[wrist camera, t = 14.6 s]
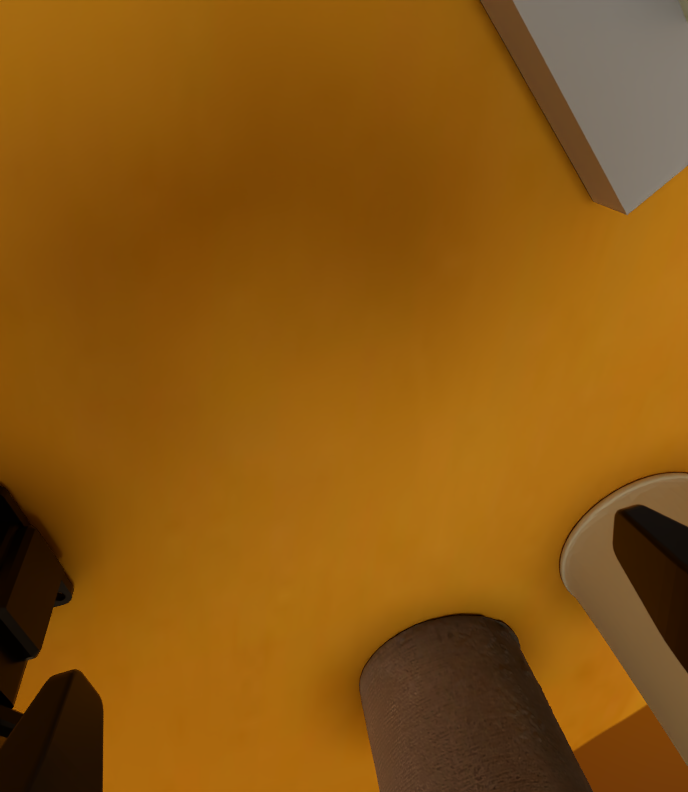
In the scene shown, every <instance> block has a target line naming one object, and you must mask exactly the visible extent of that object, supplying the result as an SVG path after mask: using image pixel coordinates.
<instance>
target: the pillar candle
mask: <svg viewBox="0 0 688 792" xmlns="http://www.w3.org/2000/svg"><path fill="white" fill-rule="evenodd" d="M359 686H360V694H361V700H362V706H363V710H364V715H365V720H366V725H367V731H368V735H369V740H370V745H371V749H372V754H373V759H374V763H375V768H376V774H377V778H378V784H379V789H380V792H593V791H592V789H591V787H590V785H589V783H588V781H587V779H586V777H585V775H584V773H583V771H582V769H581V768H580V766H579V763H578V762H577V760H576V758H575V756H574V754H573V752H572V750H571V747H570V746H569V744H568V742H567V740H566V738H565V735H564V733H563V732H562V730H561V728H560V726H559V724H558V722H557V720H556V718H555V716H554V714H553V712H552V709H551V707H550V706H549V704H548V701H547V700H546V698H545V695H544V693H543V691H542V688H541V686H540V685H539V684H538V681H537V680H536V678H535V676H534V674H533V673H532V670H531V669H530V667H529V665H528V663H527V661H526V659H525V657H524V655H523V653H522V651H521V650H520V644H519V641H518V638H517V636H516V635H515V633H514V632H513V631H512V629H511V628H509V627H508V626H507V625H506V624H505V623H502V622H499V621H496V620H494V619H491V618H486V617H482V616H468V615H460V616H450V617H444V618H439V619H436V620H431V621H426V622H423V623H421V624H418V625H415V626H413V627H411V628H409V629H408V630H405V631H404V632H401V633H400V634H398V635H397V636H396V637H394V638H392V639H390V640H389V641H388V642H386V643H385V644H384V645H383V646H382V647H380V648H379V650H378V651H376V652H375V653H374V655H373V656H372V657H371V659H370V660H369V661H368V663H367V664H366V666H365V667H364V670H363V672H362V675H361V678H360V685H359Z"/></svg>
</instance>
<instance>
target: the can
mask: <svg viewBox="0 0 688 792" xmlns="http://www.w3.org/2000/svg"><path fill="white" fill-rule="evenodd" d="M636 504H641V505H644V506H647V507H649V508H651V509H653V510H655V511H657V512H659V513H661V514H663V515H665V516H667V517H669V518H671V519H673V520H675V521H678V522H680V523H682V524H684V525H686V526H688V474H687V473H665V474H659V475H654V476H650V477H647V478H644V479H641V480H638V481H635V482H633V483H631V484H629V485H626V486H624V487H622V488H620V489H619V490H617V491H615V492H613V493H612V494H610V495H609V496H607V497H606V498H605V499H603V500H602V501H600V502H599V503H598V504H597V505H595V506H594V507H593V508H592V509H591V510H590V511H589V512H588V513H587V514H586V515H585V516H584V517H583V518H582V519H581V520H580V521H579V523H578V524H577V525H576V526H575V528H574V529H573V531H572V532H571V534H570V535H569V537H568V539H567V541H566V543H565V545H564V548H563V551H562V554H561V559H560V573H561V578H562V580H563V583H564V585H565V586H566V588H567V589H568V591H569V592H570V593H571V594H572V595H573V596H574V597H576V599H577V600H578V601H579V603H580V604H581V606H582V607H583V608H584V610H585V611H586V613H587V614H588V615H589V617H590V618H591V620H592V621H593V623H594V624H595V626H596V627H597V629H598V630H599V632H600V633H601V635H602V636H603V638H604V639H605V641H606V642H607V644H608V645H609V646H610V648H611V649H612V651H613V653H614V654H615V656H616V657H617V659H618V660H619V662H620V663H621V665H622V666H623V668H624V669H625V671H626V672H627V674H628V675H629V677H630V678H631V680H632V681H633V683H634V684H635V686H636V687H637V689H638V690H639V692H640V693H641V695H642V696H643V698H644V700H645V701H646V703H647V704H648V706H649V707H650V709H651V710H652V712H653V713H654V715H655V716H656V718H657V719H658V721H659V722H660V724H661V725H662V727H663V729H664V730H665V732H666V733H667V735H668V736H669V738H670V739H671V741H672V743H673V744H674V746H675V747H676V749H677V750H678V752H679V753H680V755H681V757H682V758H683V760H684V761H685V763H686V764H687V766H688V673H687V672H686V671H685V669H684V668H683V666H682V665H681V664H680V662H679V661H678V660H677V658H676V657H675V655H674V654H673V652H672V651H671V650H670V648H669V647H668V645H667V644H666V642H665V641H664V639H663V638H662V636H661V634H660V633H659V631H658V629H657V628H656V626H655V624H654V622H653V621H652V619H651V617H650V615H649V614H648V612H647V610H646V608H645V607H644V605H643V603H642V601H641V600H640V598H639V596H638V594H637V593H636V591H635V589H634V587H633V586H632V584H631V582H630V580H629V579H628V577H627V575H626V574H625V572H624V570H623V568H622V567H621V565H620V563H619V561H618V560H617V558H616V556H615V553H614V550H613V545H612V540H613V527H614V516H615V513H616V511H617V510H619V509H622V508H625V507H629V506H632V505H636Z"/></svg>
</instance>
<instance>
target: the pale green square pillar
mask: <svg viewBox="0 0 688 792" xmlns="http://www.w3.org/2000/svg"><path fill="white" fill-rule="evenodd" d="M679 3H680V5H681V8H682V11H683V13H684V16H685V18H686V21H687V22H688V0H679Z"/></svg>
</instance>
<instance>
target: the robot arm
mask: <svg viewBox="0 0 688 792" xmlns="http://www.w3.org/2000/svg"><path fill="white" fill-rule="evenodd" d="M612 545H613V550H614V553H615V556H616V558H617V560H618V561H619V563H620V565H621V567H622V568H623V570H624V572H625V574H626V575H627V577H628V579H629V580H630V582H631V584H632V586H633V587H634V589H635V591H636V593H637V594H638V596H639V598H640V600H641V601H642V603H643V605H644V607H645V608H646V610H647V612H648V614H649V615H650V617H651V619H652V621H653V622H654V624H655V626H656V628H657V629H658V631H659V633H660V634H661V636H662V638H663V639H664V641H665V642H666V644H667V645H668V647H669V648H670V650H671V651H672V652H673V654H674V655H675V657H676V658H677V660H678V661H679V662H680V664H681V665H682V666H683V668H684V669H685V671H686V672H687V673H688V526H686V525H684V524H682V523H680V522H678V521H675V520H673V519H671V518H669V517H667V516H665V515H663V514H661V513H659V512H657V511H655V510H653V509H651V508H649V507H647V506H644V505H641V504H636V505H632V506H629V507H625V508H622V509H619V510H617V511H616V513H615V516H614V527H613V540H612ZM73 591H74V588H73V586H72V584H71V583H70V581H69V580H68V578H67V577H66V575H65V574H64V569H63V567H62V565H61V564H60V562H59V561H58V559H57V558H56V556H55V555H54V554H53V552H52V551H51V549H50V548H49V546H48V545H47V543H46V542H45V540H44V539H43V537H42V536H41V534H40V533H39V531H38V530H37V529H36V528H34V527H33V526H32V525H31V524H30V523H29V521H28V520H27V518H26V517H25V515H24V514H23V512H22V511H21V509H20V508H19V507H18V505H17V504H16V502H15V501H14V499H13V498H12V496H11V495H10V493H9V492H8V491H7V490H6V489H5V488H4V487H2V486H0V792H103V704H102V700H101V698H100V696H99V694H98V693H97V691H96V690H95V689H94V688H93V686H92V685H91V684H90V682H89V681H88V680H87V678H86V677H85V676H84V674H83V673H82V672H81V671H79V670H77V669H73V670H70V671H66V672H63V673H59V674H56V675H54V676H52V677H50V678H49V679H48V680H47V682H46V683H45V684H44V686H43V687H42V688H41V690H40V691H39V693H38V694H37V696H36V697H35V699H34V700H33V701H32V703H31V704H30V706H29V707H28V709H27V710H26V712H25V713H24V714H23V713H21V712H19V711H16V710H14V709H12V708H13V707H14V704H15V700H16V697H17V694H18V691H19V687H20V684H21V681H22V678H23V674H24V671H25V668H26V665H27V661H28V660H30V659H33V658H36V657H37V656H38V654H39V652H40V650H41V648H42V644H43V641H44V637H45V634H46V631H47V627H48V624H49V620H50V617H51V613H52V610H53V607H57V606H60V605H64V604H66V603H68V602H69V601H70V600H71V598H72V594H73ZM59 592H60V593H62V594H60V593H59Z"/></svg>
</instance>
